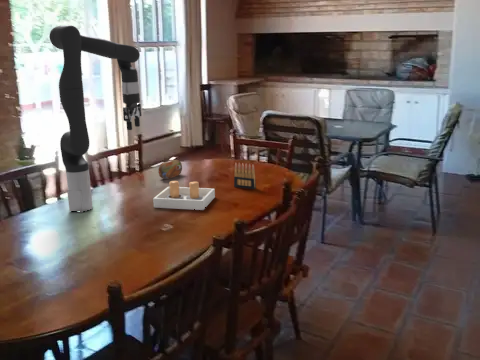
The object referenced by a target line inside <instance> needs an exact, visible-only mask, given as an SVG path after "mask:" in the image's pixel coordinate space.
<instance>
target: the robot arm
mask: <svg viewBox="0 0 480 360" xmlns="http://www.w3.org/2000/svg"><path fill="white" fill-rule="evenodd" d="M48 37H49V41H50V43H51V44H52V46H53V47H55V48H56V49H57V50H58V49H59V50H62V53H63V67H62V70H61V73H60V77H59V81H58V92H59V100H60V103H61V107H62V109H63V111H64V113H65V115H66V117H67V121H68V125H69V126H68V127H69V131H66V132H64V133H63V134H62V136H61V138H60V141H59V142H60V143H59V145H60V152H61V159H62V163H63V166H64V168H65V174H66V175H65V176H66V183H67V184H66V185H67V201H68V208H69V212H70V211H80V212H79V213H84V212H83V211H85V212H88V211H87V210H89V211H90V209H91V210H92V209H93V207H94V206H93V197H92V189H91V179H90V178H91V177H90V167H89V162H87V160H86V159H85V157H84V155H85V154H86V153H87V152H88V151H89V148H90V135H89V133H88V127H87V122H86V110H85V96H84V86H83V85H84V84H83V71H82V52H85V53H88V54H93V55H96V56H99V57H103V58H106V59H112V60H113V59H114V60H116V61H117V65H118V68H119V71H120V72H121V73H120V74H121V94H122V103H123V104H125V105H126V106H122V114H123V115H122V118H123V121H124V122H126V130H127V131H132V130H133V123H132V120H133V118H134V126H135V127H137V128H138V127H140V126H141V121H140V118H141V117H142V106H141V97H140V96H141V94H140V84H139V77H138V70H137V68H134V67H133V66H132V64H133V63H136V62H137V61H139V59H140V56H141V55H140V51H139V50H138V48H137V47H135V46H134V45H129V44H123V43H117V42H115V41H111V40H108V39H105V38H99V37H92V36H85V35H81V32H80V30H79V29H78V28H77V27H76V26H74V25H69V24H68V25H57V26H55V27H53V28H52V29H51V30H50V32H49V36H48Z"/></svg>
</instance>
